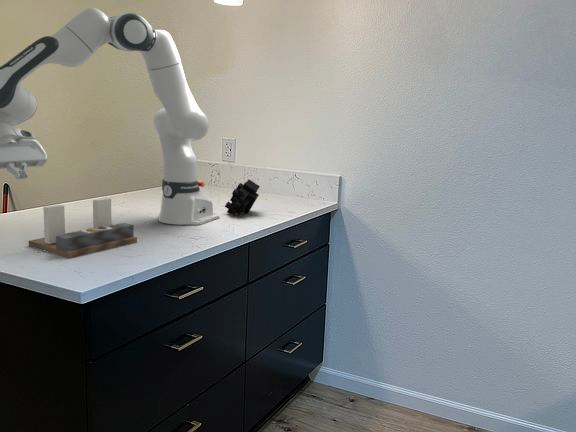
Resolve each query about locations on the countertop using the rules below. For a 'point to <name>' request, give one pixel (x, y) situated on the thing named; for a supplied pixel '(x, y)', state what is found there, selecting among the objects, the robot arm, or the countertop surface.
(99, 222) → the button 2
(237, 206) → the toy
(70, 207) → the countertop surface
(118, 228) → the console
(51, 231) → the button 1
